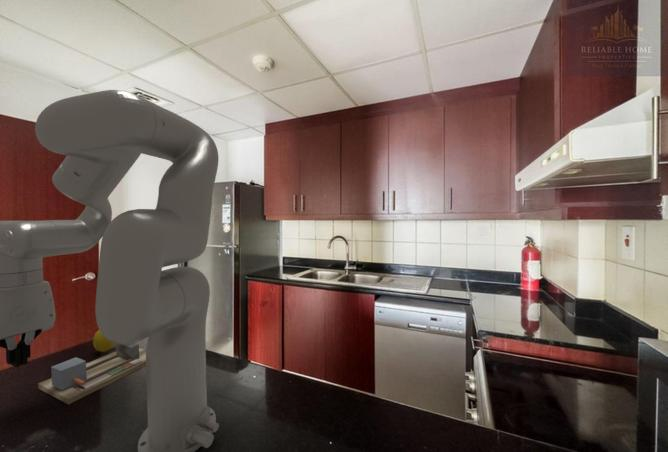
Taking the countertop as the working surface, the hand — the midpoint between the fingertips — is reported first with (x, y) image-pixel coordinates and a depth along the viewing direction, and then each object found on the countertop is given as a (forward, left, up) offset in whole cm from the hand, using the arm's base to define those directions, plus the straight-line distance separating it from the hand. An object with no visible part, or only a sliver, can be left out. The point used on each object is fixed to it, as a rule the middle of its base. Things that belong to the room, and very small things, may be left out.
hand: (18, 363), depth 55 cm
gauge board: (-1, -15, -10) cm, 18 cm away
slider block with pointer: (-3, -8, -8) cm, 12 cm away
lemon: (+11, -21, -10) cm, 26 cm away
